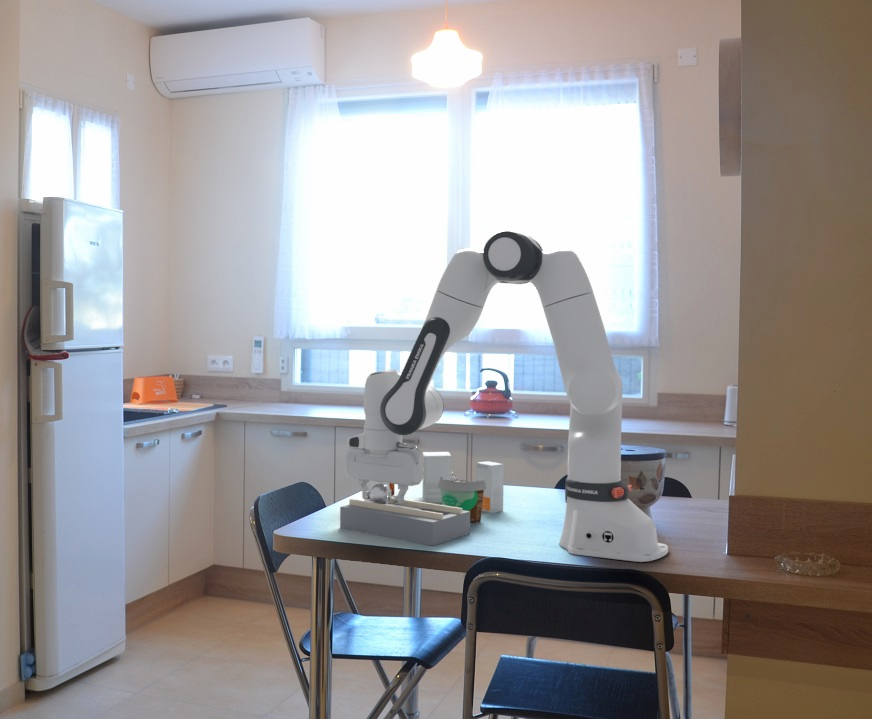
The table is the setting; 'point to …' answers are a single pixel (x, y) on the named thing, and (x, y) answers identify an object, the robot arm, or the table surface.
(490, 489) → the skincare box
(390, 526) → the grey slotted tray
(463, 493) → the food container
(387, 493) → the steel ball
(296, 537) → the table surface
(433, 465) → the supplement box
